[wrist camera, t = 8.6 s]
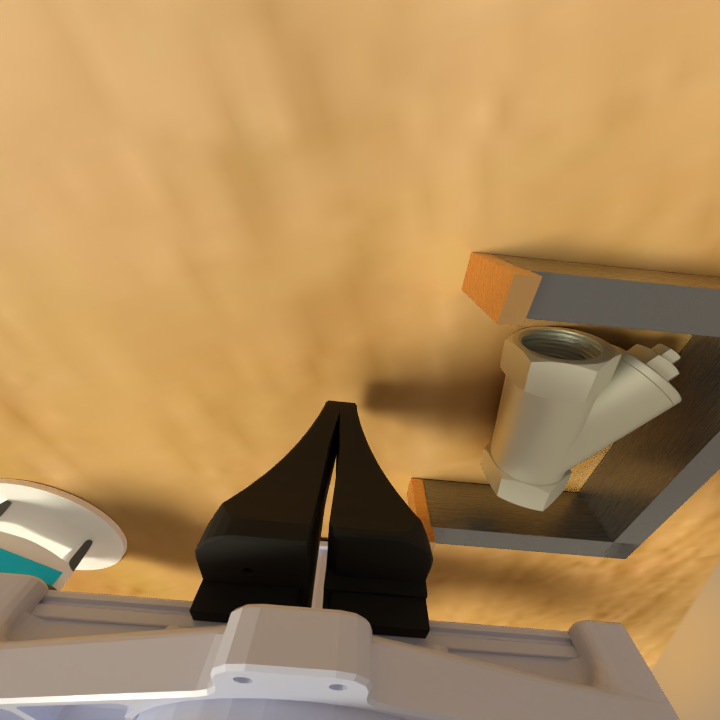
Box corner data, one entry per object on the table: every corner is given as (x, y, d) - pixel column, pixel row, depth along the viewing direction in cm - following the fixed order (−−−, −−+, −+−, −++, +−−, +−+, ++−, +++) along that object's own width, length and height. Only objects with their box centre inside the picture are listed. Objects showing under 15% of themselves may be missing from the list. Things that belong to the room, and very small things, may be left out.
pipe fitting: (641, 314, 13) (494, 327, 13) (747, 354, 10) (548, 372, 10) (586, 442, 17) (473, 452, 17) (647, 503, 13) (506, 516, 13)
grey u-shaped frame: (589, 509, 19) (637, 575, 15) (407, 493, 19) (415, 557, 15) (770, 282, 11) (934, 315, 8) (471, 252, 11) (514, 273, 8)
